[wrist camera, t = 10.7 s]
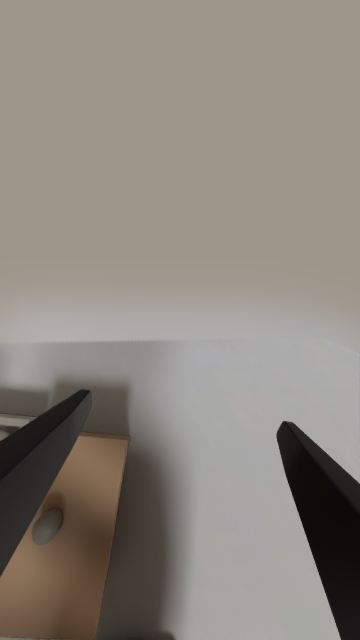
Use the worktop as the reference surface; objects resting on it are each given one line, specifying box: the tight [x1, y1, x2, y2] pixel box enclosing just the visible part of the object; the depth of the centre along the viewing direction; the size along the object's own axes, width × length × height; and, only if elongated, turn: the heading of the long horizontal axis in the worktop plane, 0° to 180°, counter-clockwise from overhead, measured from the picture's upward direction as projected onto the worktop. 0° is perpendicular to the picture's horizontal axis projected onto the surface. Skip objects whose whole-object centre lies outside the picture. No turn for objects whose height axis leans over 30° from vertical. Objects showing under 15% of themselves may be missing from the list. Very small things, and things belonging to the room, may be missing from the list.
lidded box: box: [0, 432, 130, 640], centre depth 16 cm, size 11×9×5 cm
